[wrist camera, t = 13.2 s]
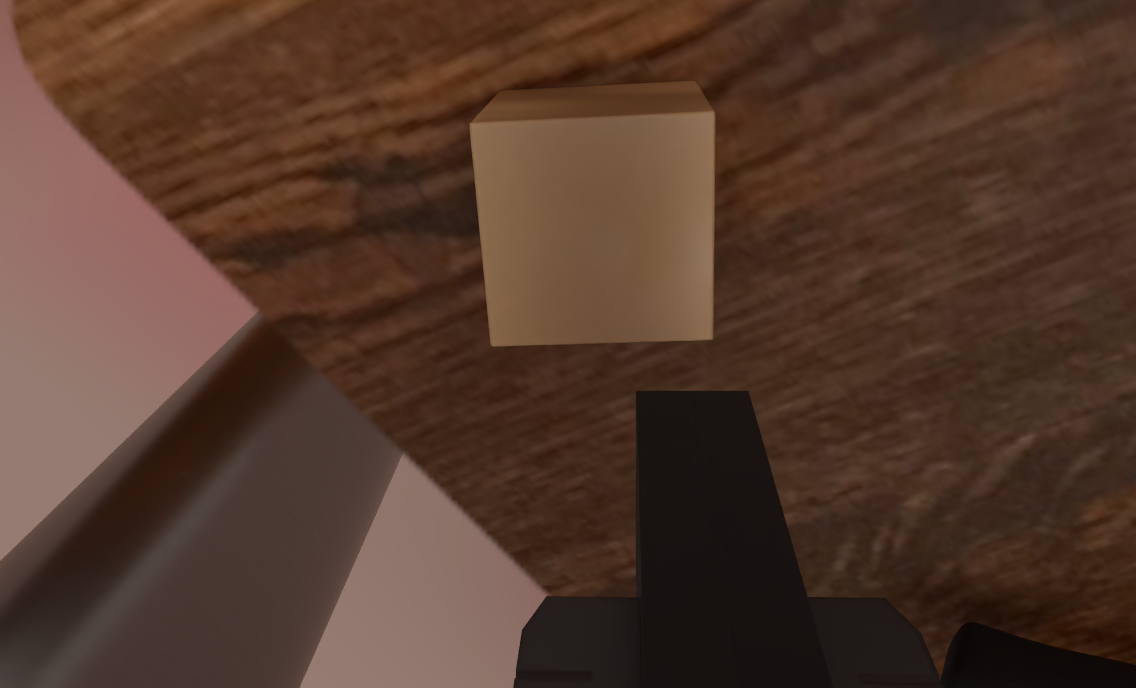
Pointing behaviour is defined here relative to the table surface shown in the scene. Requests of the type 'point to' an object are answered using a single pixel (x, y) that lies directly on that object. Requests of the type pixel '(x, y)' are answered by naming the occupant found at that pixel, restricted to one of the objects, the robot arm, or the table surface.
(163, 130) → the table surface
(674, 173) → the block
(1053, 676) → the knife
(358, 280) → the table surface
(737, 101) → the table surface
